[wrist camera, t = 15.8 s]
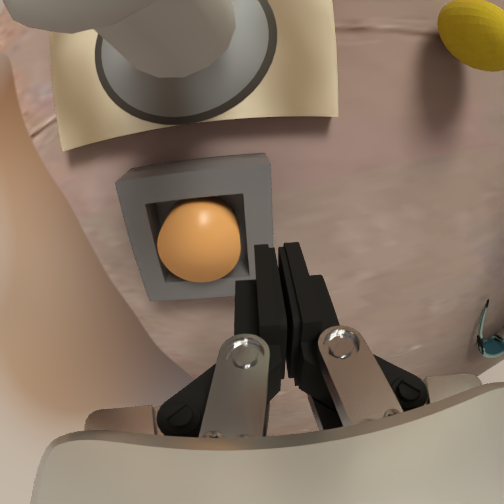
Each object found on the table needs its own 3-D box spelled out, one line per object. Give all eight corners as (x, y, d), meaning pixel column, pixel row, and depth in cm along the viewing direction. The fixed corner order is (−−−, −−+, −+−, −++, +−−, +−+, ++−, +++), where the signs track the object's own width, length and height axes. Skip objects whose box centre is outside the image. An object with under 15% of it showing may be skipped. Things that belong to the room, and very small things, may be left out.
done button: (236, 190, 17) (236, 205, 15) (242, 257, 20) (243, 279, 18) (159, 198, 17) (149, 214, 15) (173, 263, 20) (167, 284, 18)
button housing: (264, 152, 18) (270, 164, 15) (269, 268, 22) (274, 292, 20) (131, 168, 17) (115, 182, 15) (157, 276, 22) (149, 301, 20)
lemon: (474, 63, 13) (546, 75, 6) (433, 72, 14) (513, 82, 7) (452, 4, 10) (522, -3, 4) (406, 6, 11) (480, -11, 5)
